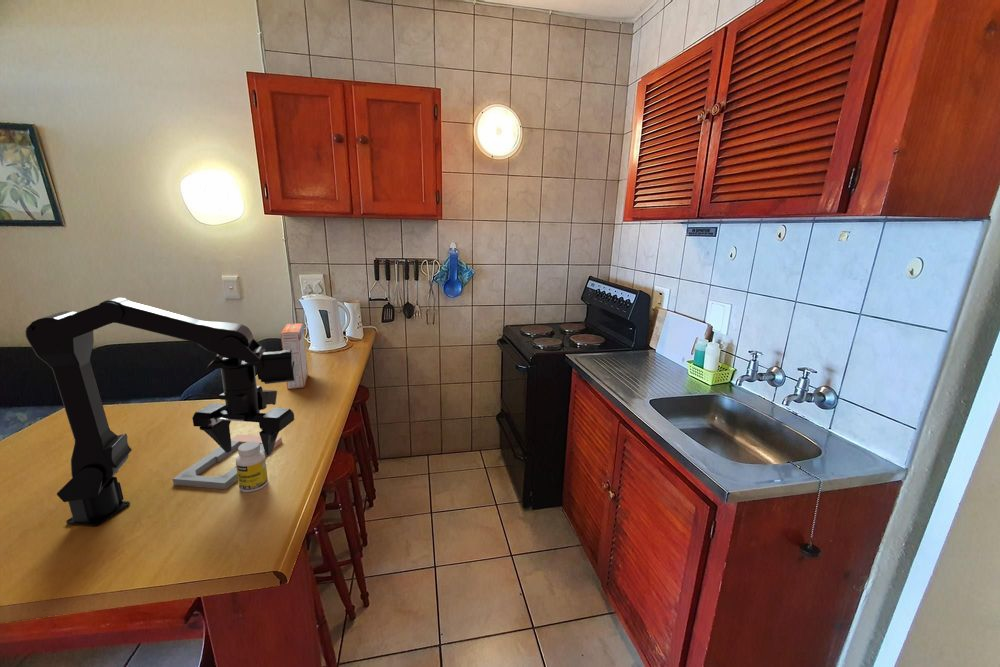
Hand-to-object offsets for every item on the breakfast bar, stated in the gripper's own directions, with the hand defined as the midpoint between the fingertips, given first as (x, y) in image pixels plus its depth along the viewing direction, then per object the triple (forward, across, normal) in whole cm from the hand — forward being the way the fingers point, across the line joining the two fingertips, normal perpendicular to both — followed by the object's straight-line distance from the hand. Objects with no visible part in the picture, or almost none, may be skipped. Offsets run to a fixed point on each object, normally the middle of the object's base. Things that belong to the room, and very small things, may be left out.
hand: (249, 453), depth 85 cm
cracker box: (+8, +25, -59) cm, 65 cm away
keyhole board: (+8, +11, -8) cm, 16 cm away
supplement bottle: (+8, 0, 0) cm, 8 cm away
